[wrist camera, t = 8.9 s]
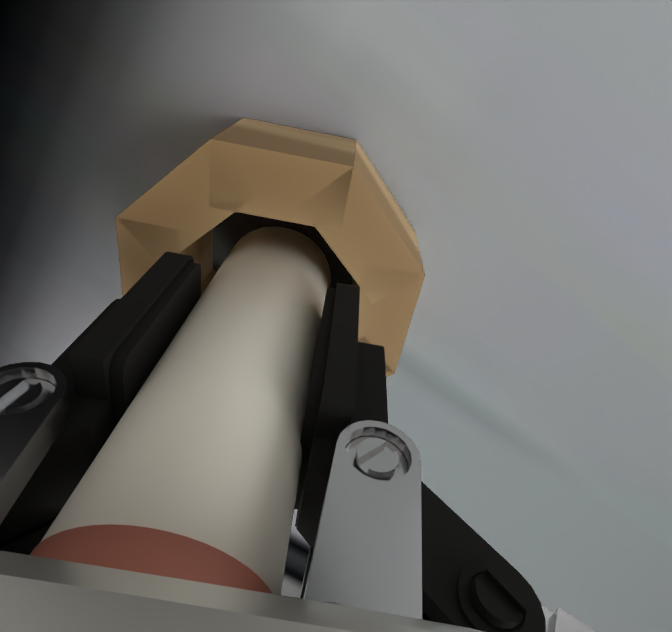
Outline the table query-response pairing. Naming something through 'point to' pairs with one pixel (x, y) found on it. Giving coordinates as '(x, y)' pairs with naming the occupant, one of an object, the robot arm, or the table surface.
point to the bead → (285, 216)
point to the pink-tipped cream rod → (211, 432)
